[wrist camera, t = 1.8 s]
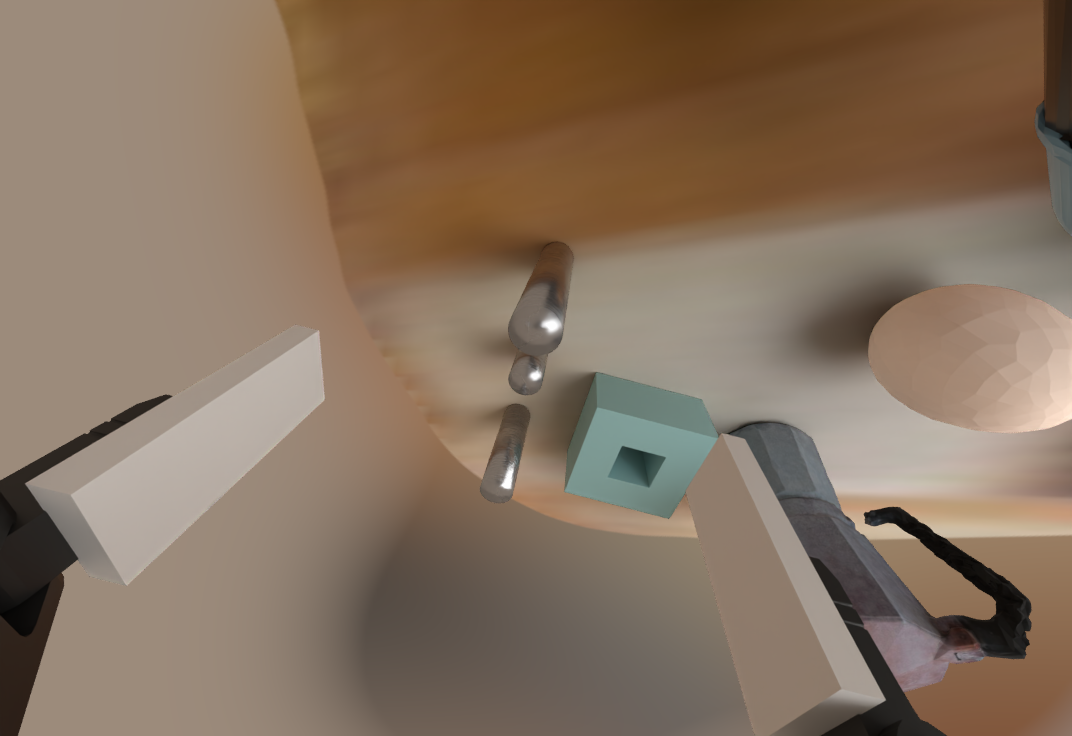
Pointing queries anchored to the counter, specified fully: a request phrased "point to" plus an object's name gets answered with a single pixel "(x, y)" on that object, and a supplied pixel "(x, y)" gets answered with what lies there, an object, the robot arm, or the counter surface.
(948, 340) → the egg
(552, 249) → the pin long
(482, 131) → the counter surface
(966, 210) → the counter surface
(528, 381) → the pin short
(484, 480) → the pin medium
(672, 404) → the teal square nut
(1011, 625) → the moka pot
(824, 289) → the counter surface
